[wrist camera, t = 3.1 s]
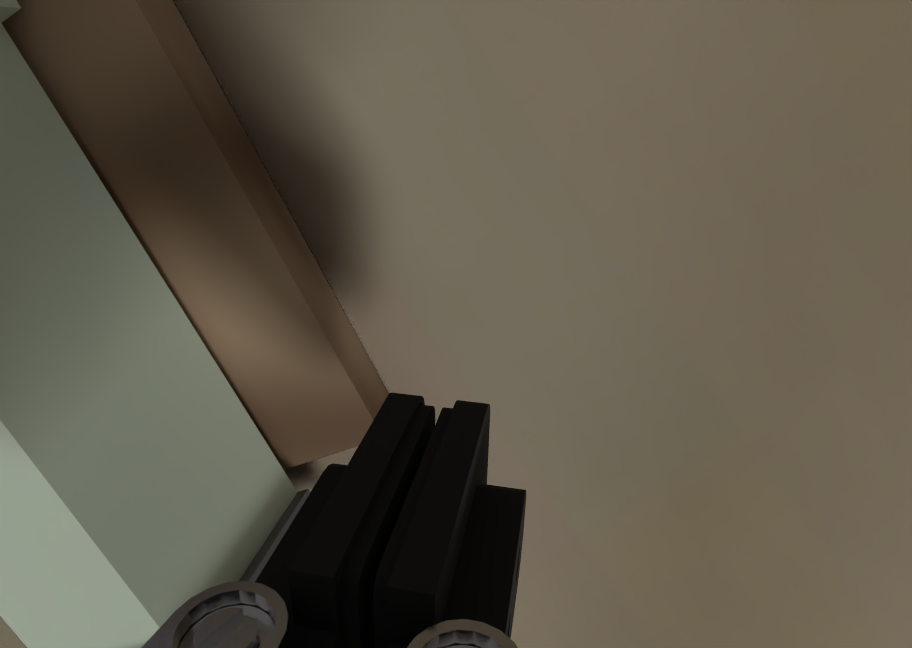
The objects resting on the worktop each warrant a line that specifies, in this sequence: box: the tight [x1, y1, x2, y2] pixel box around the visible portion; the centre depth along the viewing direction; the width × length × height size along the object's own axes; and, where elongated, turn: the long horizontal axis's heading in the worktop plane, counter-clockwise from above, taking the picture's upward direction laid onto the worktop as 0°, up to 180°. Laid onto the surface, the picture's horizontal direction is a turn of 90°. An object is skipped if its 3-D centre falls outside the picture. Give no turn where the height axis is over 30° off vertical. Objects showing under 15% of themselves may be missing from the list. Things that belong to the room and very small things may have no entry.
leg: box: [0, 0, 310, 648], centre depth 11 cm, size 16×4×5 cm, turn 26°
